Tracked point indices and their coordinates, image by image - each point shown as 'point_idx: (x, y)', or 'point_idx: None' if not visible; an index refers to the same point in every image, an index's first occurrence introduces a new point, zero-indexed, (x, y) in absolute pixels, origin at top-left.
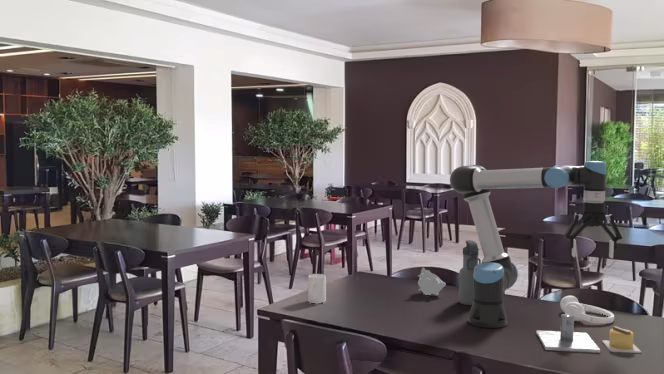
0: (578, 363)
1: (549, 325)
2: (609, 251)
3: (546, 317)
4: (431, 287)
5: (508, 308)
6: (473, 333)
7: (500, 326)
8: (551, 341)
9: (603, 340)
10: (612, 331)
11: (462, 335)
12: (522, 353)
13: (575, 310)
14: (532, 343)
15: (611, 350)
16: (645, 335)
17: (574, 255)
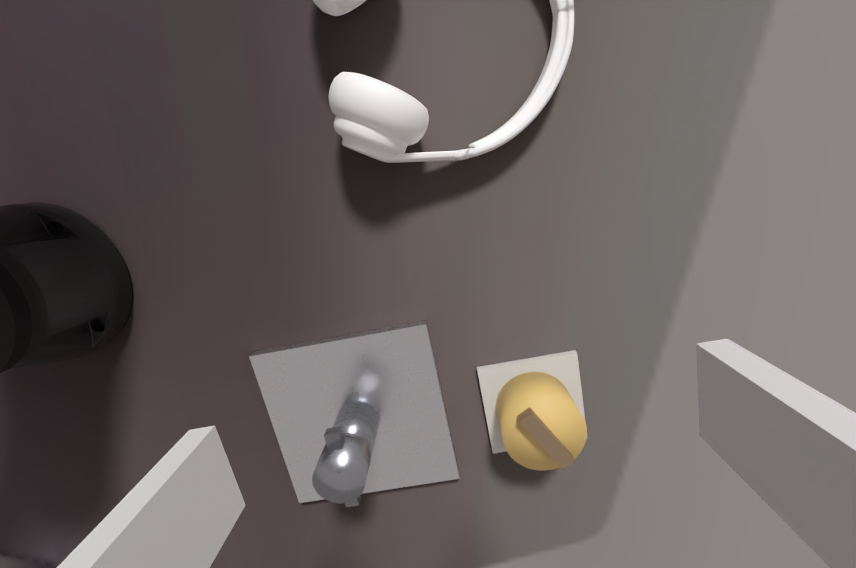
0: (395, 561)
1: (288, 233)
2: (760, 400)
3: (263, 109)
4: None
5: (65, 5)
6: (59, 419)
7: (118, 331)
8: (311, 454)
9: (481, 371)
10: (511, 441)
11: (36, 449)
12: (244, 537)
13: (380, 157)
14: (258, 452)
15: (495, 451)
16: (652, 235)
17: (223, 524)
